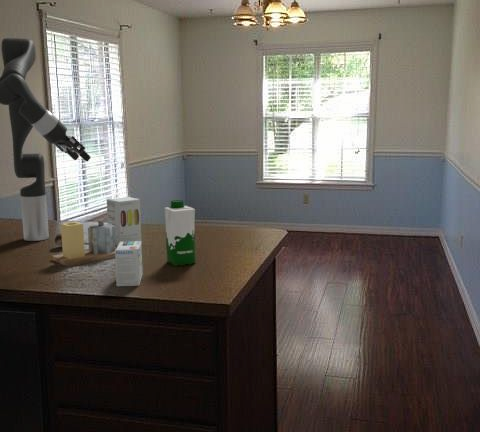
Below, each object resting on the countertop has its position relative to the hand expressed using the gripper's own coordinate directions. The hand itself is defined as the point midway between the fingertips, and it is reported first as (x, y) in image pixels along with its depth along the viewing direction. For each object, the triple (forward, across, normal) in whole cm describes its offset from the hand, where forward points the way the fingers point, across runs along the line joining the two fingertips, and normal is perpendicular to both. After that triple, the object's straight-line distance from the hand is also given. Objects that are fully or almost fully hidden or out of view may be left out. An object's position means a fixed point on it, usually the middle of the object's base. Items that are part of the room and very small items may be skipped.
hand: (82, 158), depth 197 cm
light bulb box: (+17, -43, +30) cm, 55 cm away
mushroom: (+21, +10, +26) cm, 35 cm away
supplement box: (+34, +1, +12) cm, 36 cm away
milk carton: (+33, -37, +14) cm, 51 cm away
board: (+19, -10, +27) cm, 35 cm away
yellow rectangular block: (+15, -10, +29) cm, 34 cm away
